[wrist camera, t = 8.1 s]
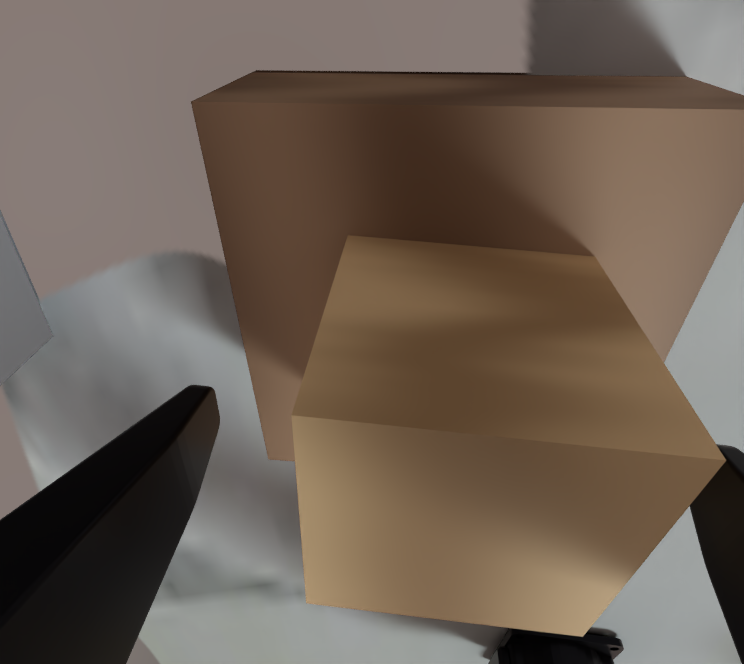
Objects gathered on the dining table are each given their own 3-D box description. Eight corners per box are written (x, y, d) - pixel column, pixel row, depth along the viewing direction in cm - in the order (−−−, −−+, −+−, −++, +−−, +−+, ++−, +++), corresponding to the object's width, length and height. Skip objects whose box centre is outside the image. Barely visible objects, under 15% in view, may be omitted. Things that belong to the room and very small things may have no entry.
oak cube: (594, 256, 9) (725, 459, 5) (531, 425, 12) (582, 636, 8) (348, 235, 9) (290, 414, 5) (344, 406, 12) (306, 603, 8)
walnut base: (678, 74, 11) (789, 110, 7) (569, 388, 17) (603, 483, 13) (256, 70, 11) (190, 101, 8) (297, 372, 17) (268, 459, 14)
